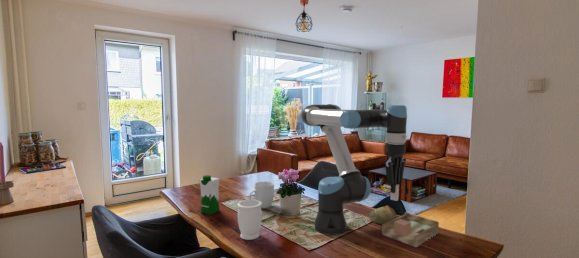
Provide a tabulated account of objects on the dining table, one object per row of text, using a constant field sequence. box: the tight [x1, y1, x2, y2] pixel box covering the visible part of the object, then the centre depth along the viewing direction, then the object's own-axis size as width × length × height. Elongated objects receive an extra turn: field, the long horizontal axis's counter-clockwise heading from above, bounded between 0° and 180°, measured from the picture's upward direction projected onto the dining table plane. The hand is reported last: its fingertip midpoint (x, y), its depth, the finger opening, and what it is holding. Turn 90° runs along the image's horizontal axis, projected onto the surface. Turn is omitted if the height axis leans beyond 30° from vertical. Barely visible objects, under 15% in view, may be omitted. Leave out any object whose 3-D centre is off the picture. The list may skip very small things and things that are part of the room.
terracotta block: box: [394, 219, 411, 237], centre depth 133 cm, size 5×5×5 cm
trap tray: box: [381, 211, 440, 248], centre depth 137 cm, size 16×20×6 cm
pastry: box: [369, 204, 399, 226], centre depth 152 cm, size 14×12×8 cm
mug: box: [248, 181, 275, 209], centre depth 172 cm, size 15×11×13 cm
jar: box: [236, 199, 263, 241], centre depth 135 cm, size 11×10×15 cm
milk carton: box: [198, 175, 221, 216], centre depth 164 cm, size 9×9×20 cm
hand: (394, 199), depth 126 cm, fingers closed
